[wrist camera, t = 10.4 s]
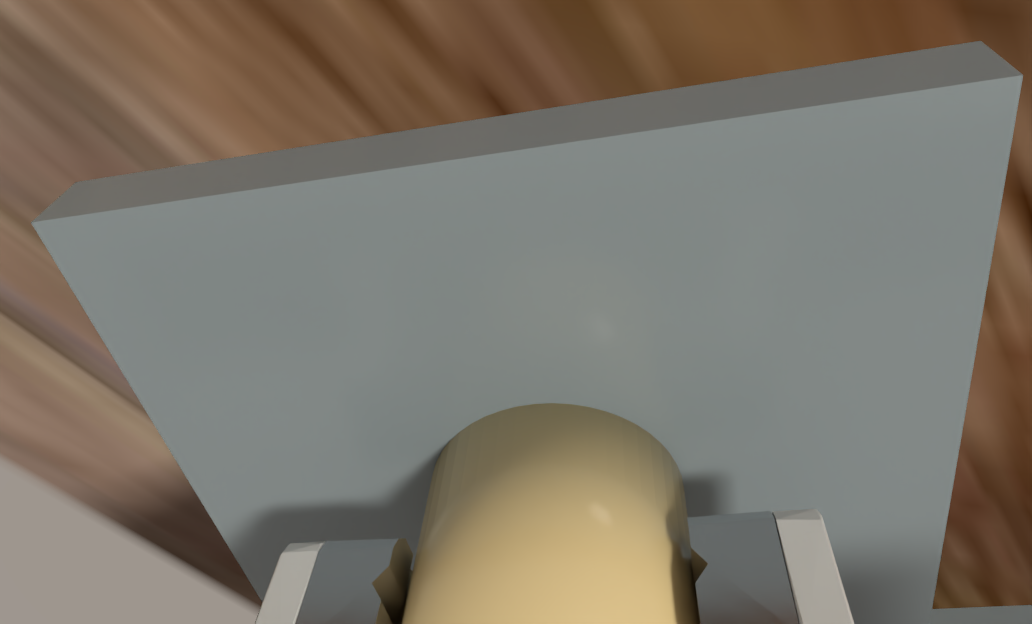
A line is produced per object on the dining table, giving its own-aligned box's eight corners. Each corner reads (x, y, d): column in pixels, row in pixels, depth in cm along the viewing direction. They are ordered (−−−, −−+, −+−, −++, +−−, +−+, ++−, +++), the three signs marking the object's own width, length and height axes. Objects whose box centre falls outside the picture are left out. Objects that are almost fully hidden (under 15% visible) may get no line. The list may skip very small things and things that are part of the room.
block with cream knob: (946, 12, 9) (1300, 299, 5) (882, 582, 15) (1011, 953, 10) (113, 147, 11) (-226, 452, 6) (350, 610, 17) (262, 940, 12)
